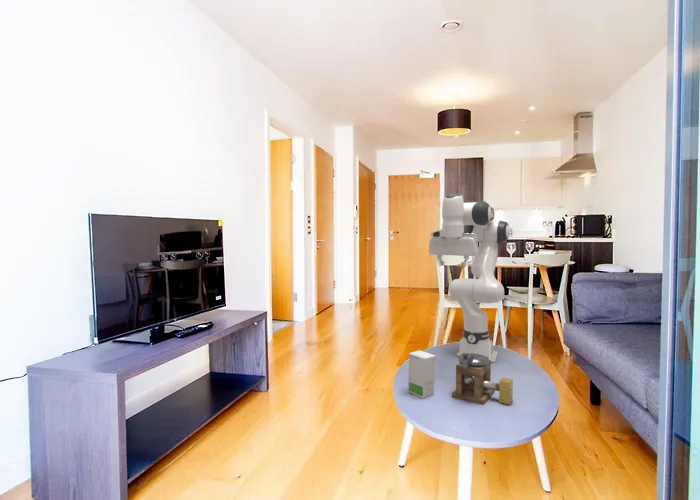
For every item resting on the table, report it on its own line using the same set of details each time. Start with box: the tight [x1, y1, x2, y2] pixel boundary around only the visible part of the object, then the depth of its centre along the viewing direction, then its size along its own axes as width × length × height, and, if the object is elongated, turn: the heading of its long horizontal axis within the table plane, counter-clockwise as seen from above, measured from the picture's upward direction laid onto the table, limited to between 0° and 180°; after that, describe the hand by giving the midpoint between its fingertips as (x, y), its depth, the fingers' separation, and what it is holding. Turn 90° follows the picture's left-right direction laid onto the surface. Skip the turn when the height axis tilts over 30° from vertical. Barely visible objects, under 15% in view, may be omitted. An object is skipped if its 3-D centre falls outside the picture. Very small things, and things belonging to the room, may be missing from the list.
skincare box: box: [407, 349, 436, 399], centre depth 156 cm, size 8×7×16 cm
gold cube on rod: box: [465, 376, 514, 406], centre depth 152 cm, size 4×20×8 cm, turn 54°
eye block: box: [451, 360, 495, 406], centre depth 154 cm, size 14×12×12 cm
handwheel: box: [458, 353, 489, 368], centre depth 152 cm, size 16×11×6 cm
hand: (452, 266), depth 169 cm, fingers open, 8 cm apart
